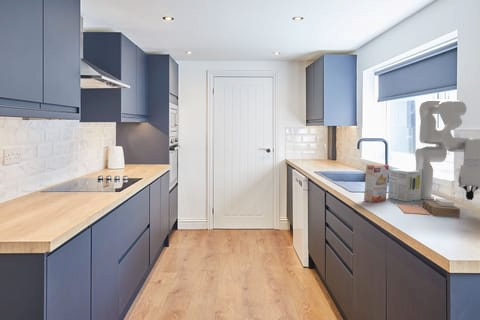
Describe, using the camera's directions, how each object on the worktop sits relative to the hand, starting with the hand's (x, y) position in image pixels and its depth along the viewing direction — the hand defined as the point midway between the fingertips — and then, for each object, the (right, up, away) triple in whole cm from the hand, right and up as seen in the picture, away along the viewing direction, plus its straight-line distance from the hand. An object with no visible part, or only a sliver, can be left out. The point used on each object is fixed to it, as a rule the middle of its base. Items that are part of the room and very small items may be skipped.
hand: (469, 199), depth 195 cm
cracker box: (-37, -4, +29) cm, 47 cm away
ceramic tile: (-11, -3, +3) cm, 12 cm away
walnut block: (-13, -7, +4) cm, 15 cm away
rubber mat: (-26, -6, +6) cm, 27 cm away
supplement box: (-17, -4, +38) cm, 42 cm away
